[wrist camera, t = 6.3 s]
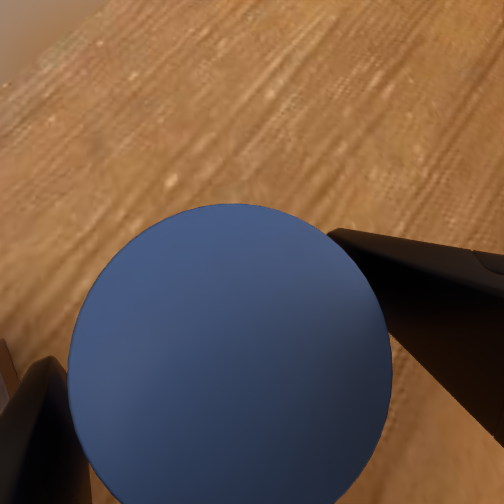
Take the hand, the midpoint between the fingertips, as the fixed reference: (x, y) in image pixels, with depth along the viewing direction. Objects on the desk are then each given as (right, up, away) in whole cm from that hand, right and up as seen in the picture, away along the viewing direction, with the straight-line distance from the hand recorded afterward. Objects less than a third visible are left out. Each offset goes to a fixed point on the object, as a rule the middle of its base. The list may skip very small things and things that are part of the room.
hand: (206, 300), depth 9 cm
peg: (-1, -3, +7) cm, 7 cm away
